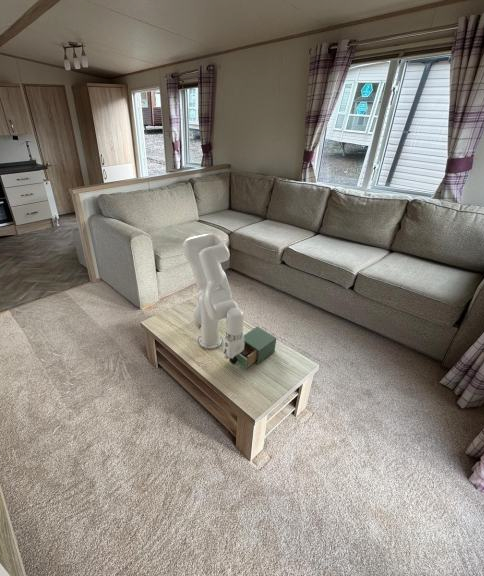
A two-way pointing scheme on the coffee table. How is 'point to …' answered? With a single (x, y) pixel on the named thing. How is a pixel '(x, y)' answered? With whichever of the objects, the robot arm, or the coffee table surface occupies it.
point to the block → (245, 352)
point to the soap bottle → (198, 309)
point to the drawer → (250, 359)
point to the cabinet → (260, 342)
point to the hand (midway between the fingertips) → (232, 362)
